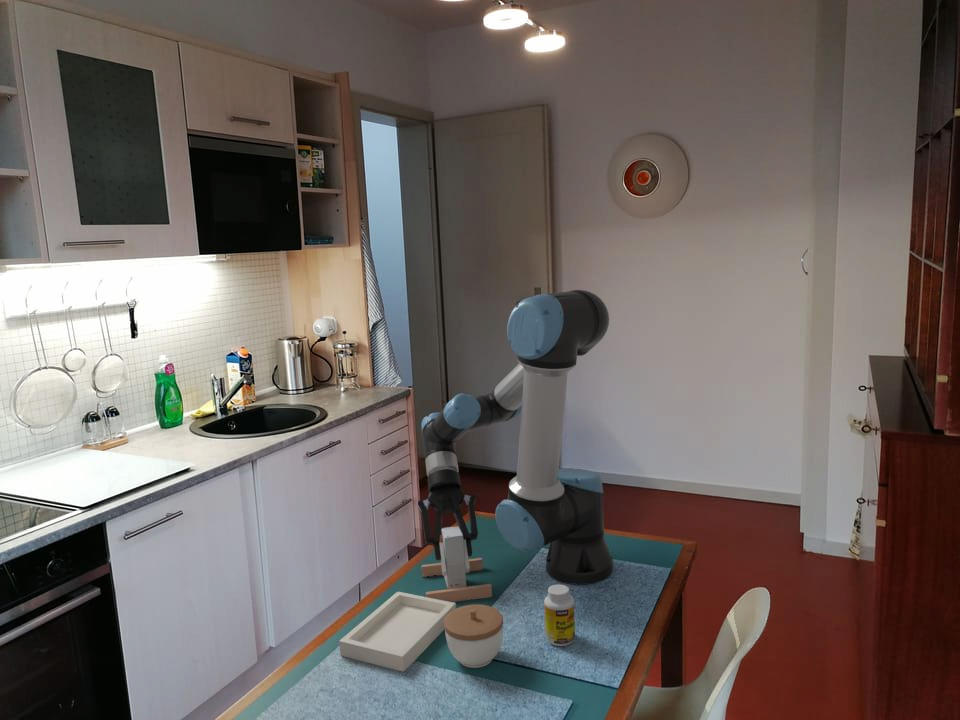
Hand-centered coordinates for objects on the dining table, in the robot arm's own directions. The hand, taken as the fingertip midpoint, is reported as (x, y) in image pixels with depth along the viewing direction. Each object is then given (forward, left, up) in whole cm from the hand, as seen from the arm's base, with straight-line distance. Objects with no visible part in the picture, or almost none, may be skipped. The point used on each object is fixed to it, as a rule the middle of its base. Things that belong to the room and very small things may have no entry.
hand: (456, 572), depth 153 cm
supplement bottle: (-28, +2, -5) cm, 29 cm away
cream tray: (-2, +19, -5) cm, 19 cm away
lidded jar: (-19, +16, -5) cm, 25 cm away
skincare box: (+3, -2, -5) cm, 6 cm away
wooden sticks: (+3, -2, -5) cm, 6 cm away
